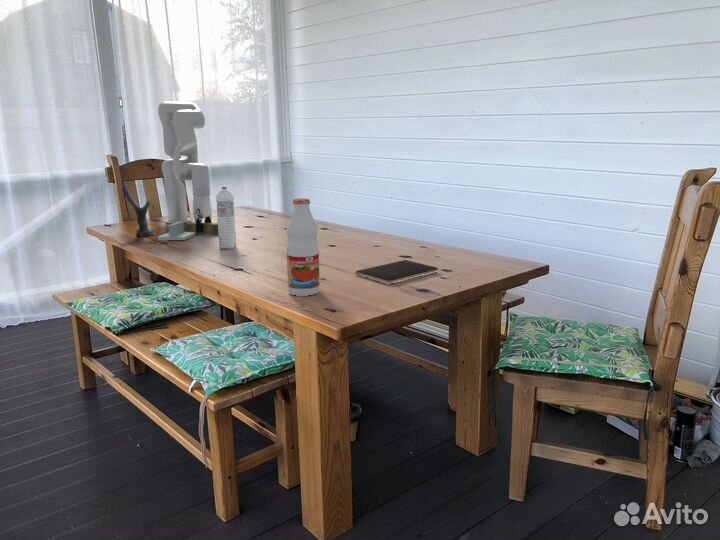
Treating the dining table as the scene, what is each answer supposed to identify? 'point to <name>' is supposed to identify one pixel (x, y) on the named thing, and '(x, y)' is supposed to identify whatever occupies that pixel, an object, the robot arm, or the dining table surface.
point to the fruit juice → (302, 251)
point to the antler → (139, 213)
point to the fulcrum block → (176, 232)
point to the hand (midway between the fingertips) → (204, 229)
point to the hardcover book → (396, 271)
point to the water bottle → (226, 219)
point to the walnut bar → (207, 228)
